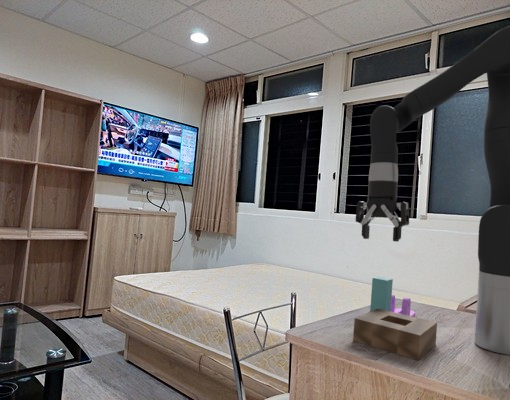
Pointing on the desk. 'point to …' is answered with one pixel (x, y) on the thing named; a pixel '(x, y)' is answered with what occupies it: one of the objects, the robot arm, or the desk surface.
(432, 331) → the socket block
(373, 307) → the peg
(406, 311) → the bracket
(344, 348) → the desk surface
